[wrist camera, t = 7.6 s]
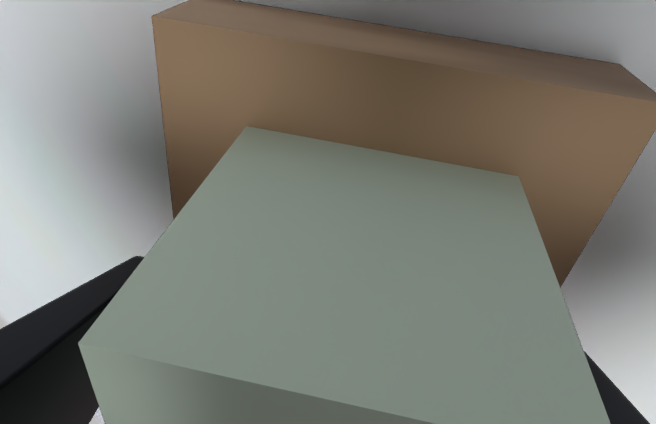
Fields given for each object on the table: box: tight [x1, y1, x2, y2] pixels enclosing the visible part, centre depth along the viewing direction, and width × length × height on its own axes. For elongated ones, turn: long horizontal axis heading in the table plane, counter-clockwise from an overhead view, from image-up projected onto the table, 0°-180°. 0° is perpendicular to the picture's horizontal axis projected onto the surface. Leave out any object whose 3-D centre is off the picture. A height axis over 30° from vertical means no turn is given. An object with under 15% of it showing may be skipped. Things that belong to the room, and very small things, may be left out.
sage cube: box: [78, 126, 611, 424], centre depth 9 cm, size 6×6×6 cm
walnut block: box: [152, 0, 656, 287], centre depth 12 cm, size 10×10×2 cm
